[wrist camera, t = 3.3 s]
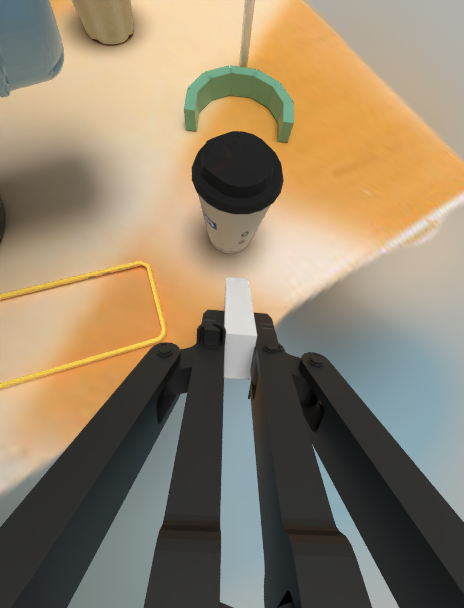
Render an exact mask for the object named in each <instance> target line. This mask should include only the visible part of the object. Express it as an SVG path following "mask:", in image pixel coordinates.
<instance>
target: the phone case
mask: <svg viewBox="0 0 464 608" xmlns="http://www.w3.org/2000/svg"><path fill="white" fill-rule="evenodd" d="M137 266H145V267H146V268H147V271H148V275H149V279H150V283H151V287H152V291H153V295H154V299H155V303H156V307H157V311H158V315H159V319H160V323H161V327H162V332H161V334H160V336H159V337H157V338H155V339H151V340H148V341H145V342H141V343H138V344H134V345H131V346H127V347H124V348H120V349H117V350H114V351H110V352H107V353H103V354H100V355H96V356H93V357H89V358H86V359H83V360H79V361H76V362H72V363H69V364H65V365H62V366H58V367H55V368H52V369H48V370H45V371H41V372H38V373H34V374H31V375H27V376H24V377H21V378H17V379H14V380H10V381H7V382H3V383H0V389H3V388H6V387H10V386H13V385H17V384H20V383H23V382H27V381H30V380H34V379H37V378H40V377H44V376H47V375H51V374H54V373H57V372H61V371H64V370H68V369H71V368H74V367H78V366H81V365H85V364H88V363H91V362H95V361H98V360H102V359H105V358H108V357H112V356H115V355H119V354H122V353H125V352H129V351H132V350H136V349H139V348H142V347H146V346H149V345H153V344H156V343H159V342H161V341H162V340H163V339H164V338H165V337H166V334H167V327H166V324H165V320H164V316H163V312H162V308H161V304H160V300H159V296H158V292H157V288H156V284H155V280H154V276H153V272H152V270H151V268H150V266H149V265H148V264H147V263H145V262H143V261H137V262H132V263H128V264H124V265H120V266H116V267H112V268H108V269H103V270H99V271H95V272H91V273H87V274H83V275H79V276H74V277H70V278H66V279H62V280H58V281H54V282H50V283H45V284H41V285H37V286H33V287H29V288H25V289H21V290H16V291H12V292H8V293H4V294H0V300H3V299H7V298H11V297H15V296H19V295H23V294H27V293H31V292H35V291H39V290H43V289H47V288H52V287H56V286H60V285H64V284H68V283H72V282H76V281H80V280H84V279H88V278H89V277H90V276H95V277H96V276H101V275H103V273H106V272H110V273H113V272H117V271H121V270H125V269H129V268H133V267H137ZM123 268H124V269H123ZM118 269H120V270H118Z"/></svg>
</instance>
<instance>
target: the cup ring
mask: <svg viewBox="0 0 464 608" xmlns="http://www.w3.org/2000/svg"><path fill="white" fill-rule="evenodd" d="M229 95H233V96H241V97H248V98H252V99H254V100H255V101H257V102H259V103H260V104H262V105H264V106H266V107H267V108H269V110H270V112H271V113H272V115H273V116H274V118H275V119H276V121H277V122H278V141H280V142H288V139H289V136H290V133H291V130H292V127H293V124H294V103H293V100H292V99H291V97H290V96H289V95H288V93H287V92H286V90H285V89H284V87H283V86H282V84H281V83H279V81H277V80H275V79H273V78H272V77H270V76H268V75H266V74H265V73H263V72H261V71H259V70H257V71H256V69H252V68H245V67H238V66H230V67H229V66H225V67H221V68H218V69H214V70H210V71H206V72H205V73H203V74H202V75H201V76H199V77H198V78H197V79H196V80H195V81H194V82H193V83H192V84H191V85H190V86H189V87H188V89H187V93H186V100H185V106H184V113H185V123H186V130H190V131H196V129H197V122H198V114H199V112H200V111H201V110H202V109H203V108H204V107H205V106H206V105H207V104H208V103H209V102H210V101H211V100H215V99H218V98H222V97H225V96H229Z"/></svg>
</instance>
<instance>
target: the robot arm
mask: <svg viewBox="0 0 464 608" xmlns="http://www.w3.org/2000/svg"><path fill="white" fill-rule="evenodd" d="M63 62H64V48H63V43H62V39H61V36H60V32H59V29H58V26H57V23H56V19H55V16H54V13H53V10H52V7H51V4H50V1H49V0H0V96H1V97H7V96H9V94H10V91H12V90H15V89H19V88H23V87H27V86H30V85H34V84H38V83H41V82H45V81H49V80H51V79H53V78H55V77H56V76H57V75H58V74H59V72H60V71H61V69H62V66H63ZM4 223H5V215H4V208H3V204H2V201H1V199H0V240H1V237H2V234H3V229H4ZM250 374H251V384H250V390H249V395H248V399H250V397H251V406H252V419H253V430H254V442H255V454H256V465H257V478H258V490H259V502H260V514H261V526H262V537H263V549H264V562H265V578H264V604H265V608H372V606H371V603H370V600H369V597H368V593H367V591H366V587H365V584H364V581H363V578H362V575H361V571H360V568H359V565H358V562H357V559H356V556H355V553H354V551H353V548H352V546H351V544H350V542H349V540H348V539H347V537H346V536H345V535H343V534H342V533H341V532H340V531H339V530H338V529H337V527H336V525H335V521H334V518H333V515H332V512H331V508H330V505H329V501H328V498H327V494H326V491H325V487H324V484H323V480H322V477H321V474H320V470H319V467H318V464H317V460H316V456H315V453H314V449H313V446H314V448H315V450H316V452H317V454H318V456H319V457H320V459H321V461H322V463H323V465H324V467H325V469H326V470H327V472H328V474H329V476H330V478H331V480H332V482H333V484H334V486H335V488H336V489H337V491H338V493H339V495H340V497H341V499H342V501H343V503H344V504H345V506H346V508H347V510H348V512H349V514H350V516H351V518H352V519H353V521H354V523H355V525H356V527H357V529H358V531H359V533H360V535H361V536H362V538H363V540H364V542H365V544H366V546H367V547H368V550H369V551H370V553H371V555H372V557H373V559H374V561H375V563H376V565H377V566H378V568H379V570H380V572H381V574H382V576H383V577H384V579H385V581H386V583H387V585H388V587H389V589H390V591H391V593H392V595H393V596H394V598H395V600H396V602H397V604H398V606H399V608H464V522H463V521H462V520H461V519H460V517H459V516H458V515H457V514H456V513H455V511H454V510H453V509H452V508H451V507H450V505H449V504H448V503H447V502H446V501H445V499H444V498H443V497H442V496H441V495H440V493H439V492H438V491H437V490H436V489H435V487H434V486H433V485H432V484H431V483H430V482H429V480H428V479H427V478H426V477H425V476H424V474H423V473H422V472H421V471H420V469H419V468H418V467H417V466H416V465H415V463H414V462H413V461H412V460H411V459H410V457H409V456H408V455H407V454H406V453H405V451H404V450H403V449H402V448H401V447H400V445H399V444H398V443H397V442H396V440H395V439H394V438H393V437H392V436H391V434H390V433H389V432H388V431H387V430H386V429H385V427H384V426H383V425H382V424H381V423H380V421H379V420H378V419H377V418H376V416H375V415H374V414H373V413H372V412H371V411H370V409H369V408H368V407H367V406H366V405H365V403H364V402H363V401H362V400H361V398H360V397H359V396H358V395H357V394H356V393H355V391H354V390H353V389H352V388H351V387H350V385H349V384H348V383H347V382H346V381H345V379H344V378H343V377H342V376H341V375H340V373H339V372H338V371H337V370H336V369H335V367H334V366H333V365H332V364H331V363H330V361H329V360H328V359H327V358H326V357H324V356H322V355H320V354H317V353H312V352H309V353H305V354H304V355H302V358H299V357H295V356H292V355H289V354H287V353H286V352H285V350H284V348H283V346H282V345H280V344H279V343H278V340H277V336H276V333H275V329H274V325H273V321H272V318H271V317H270V316H269V315H268V314H263V313H253V306H252V300H251V293H250V287H249V281H248V279H242V278H230V277H226V287H225V298H224V309H223V311H218V310H207V311H206V312H205V313H204V314H203V319H202V324H201V325H200V326H199V327H198V328H197V343H196V344H195V345H194V346H192V347H190V348H186V349H179V347H178V346H177V345H175V344H173V343H166V342H165V343H159V344H157V345H155V346H153V347H152V348H151V349H150V350H149V352H148V353H147V354H146V355H145V356H144V357H143V359H142V360H141V361H140V362H139V363H138V365H137V366H136V367H135V368H134V369H133V370H132V372H131V373H130V374H129V375H128V376H127V378H126V379H125V380H124V381H123V382H122V384H121V385H120V386H119V387H118V388H117V389H116V391H115V392H114V393H113V394H112V395H111V397H110V398H109V399H108V400H107V401H106V403H105V404H104V405H103V406H102V407H101V408H100V410H99V411H98V412H97V413H96V414H95V416H94V417H93V418H92V419H91V420H90V422H89V423H88V424H87V425H86V426H85V427H84V429H83V430H82V431H81V432H80V433H79V435H78V436H77V437H76V438H75V439H74V441H73V442H72V443H71V444H70V445H69V446H68V448H67V449H66V450H65V451H64V452H63V454H62V455H61V456H60V457H59V458H58V459H57V461H56V462H55V463H54V465H53V466H52V467H51V468H50V469H49V470H48V472H47V473H46V474H45V475H44V476H43V477H42V478H41V480H40V481H39V482H38V483H37V484H36V486H35V487H34V488H33V489H32V490H31V492H30V493H29V494H28V495H27V496H26V498H25V499H24V500H23V501H22V502H21V503H20V505H19V506H18V507H17V508H16V509H15V511H14V512H13V513H12V514H11V515H10V517H9V518H8V519H7V520H6V521H5V522H4V524H3V525H2V526H1V527H0V608H67V606H68V605H69V603H70V601H71V599H72V597H73V595H74V593H75V591H76V590H77V588H78V586H79V584H80V582H81V580H82V578H83V576H84V575H85V572H86V571H87V569H88V567H89V565H90V563H91V561H92V559H93V558H94V556H95V554H96V552H97V550H98V548H99V546H100V544H101V543H102V541H103V539H104V537H105V535H106V533H107V531H108V530H109V528H110V526H111V524H112V522H113V520H114V518H115V516H116V515H117V513H118V511H119V509H120V507H121V505H122V503H123V501H124V500H125V498H126V496H127V494H128V492H129V490H130V488H131V486H132V485H133V483H134V481H135V479H136V477H137V475H138V473H139V472H140V470H141V468H142V466H143V464H144V462H145V460H146V458H147V457H148V455H149V453H150V451H151V449H152V447H153V445H154V443H155V442H156V440H157V438H158V436H159V434H160V432H161V430H162V428H163V426H164V424H165V423H166V421H167V419H168V417H169V415H170V413H171V412H172V409H173V408H174V405H175V404H176V402H177V400H178V398H179V396H180V394H182V393H187V392H188V393H187V398H186V403H185V409H184V414H183V419H182V425H181V430H180V436H179V441H178V446H177V452H176V457H175V462H174V468H173V473H172V479H171V484H170V489H169V495H168V500H167V506H166V511H165V516H164V521H163V525H162V527H161V529H160V531H159V535H158V538H157V543H156V548H155V552H154V558H153V563H152V568H151V573H150V578H149V584H148V589H147V593H146V599H145V604H144V608H233V607H230V606H228V605H226V604H223V603H221V602H220V563H221V559H220V558H221V531H220V500H221V463H222V462H221V461H222V427H223V391H224V390H223V388H224V378H234V379H248V380H249V379H250ZM312 444H313V446H312Z"/></svg>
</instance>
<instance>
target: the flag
mask: <svg viewBox="0 0 464 608" xmlns="http://www.w3.org/2000/svg"><path fill="white" fill-rule="evenodd" d="M254 3H255V0H245V5H244V16H243V28H242V39H241V50H240V61H239V67H245V68H247V63H248V54H249V46H250V37H251V28H252V20H253V11H254Z"/></svg>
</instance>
